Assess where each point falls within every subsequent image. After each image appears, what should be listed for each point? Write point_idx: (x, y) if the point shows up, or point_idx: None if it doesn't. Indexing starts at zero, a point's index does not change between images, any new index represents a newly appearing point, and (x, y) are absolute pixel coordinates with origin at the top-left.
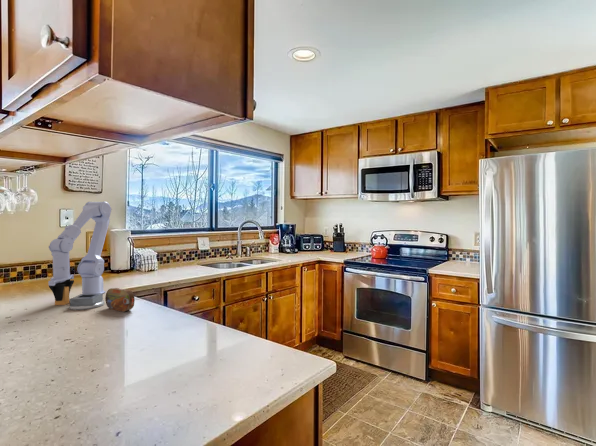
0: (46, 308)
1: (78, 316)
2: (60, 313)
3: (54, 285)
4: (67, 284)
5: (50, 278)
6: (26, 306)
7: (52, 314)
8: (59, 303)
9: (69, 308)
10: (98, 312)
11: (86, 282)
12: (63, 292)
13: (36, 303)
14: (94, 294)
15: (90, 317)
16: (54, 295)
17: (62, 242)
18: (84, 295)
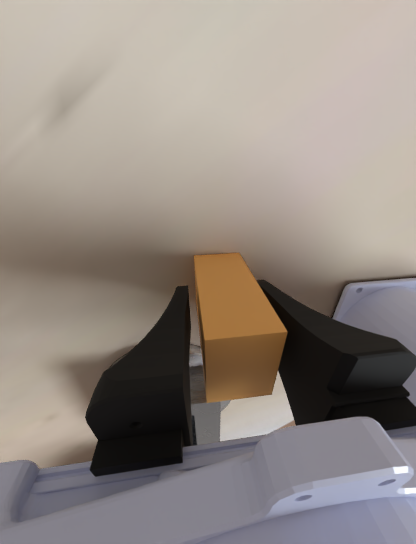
0: (110, 256)
1: (26, 429)
2: (39, 369)
3: (107, 440)
4: (297, 398)
5: (287, 480)
6: (157, 11)
7: (12, 351)
8: (195, 283)
9: (114, 363)
10: (87, 444)
11: (412, 398)
12: (202, 358)
13: (265, 53)
14: (199, 441)
15: (29, 452)
16: (167, 310)
17: None
18: (194, 416)
